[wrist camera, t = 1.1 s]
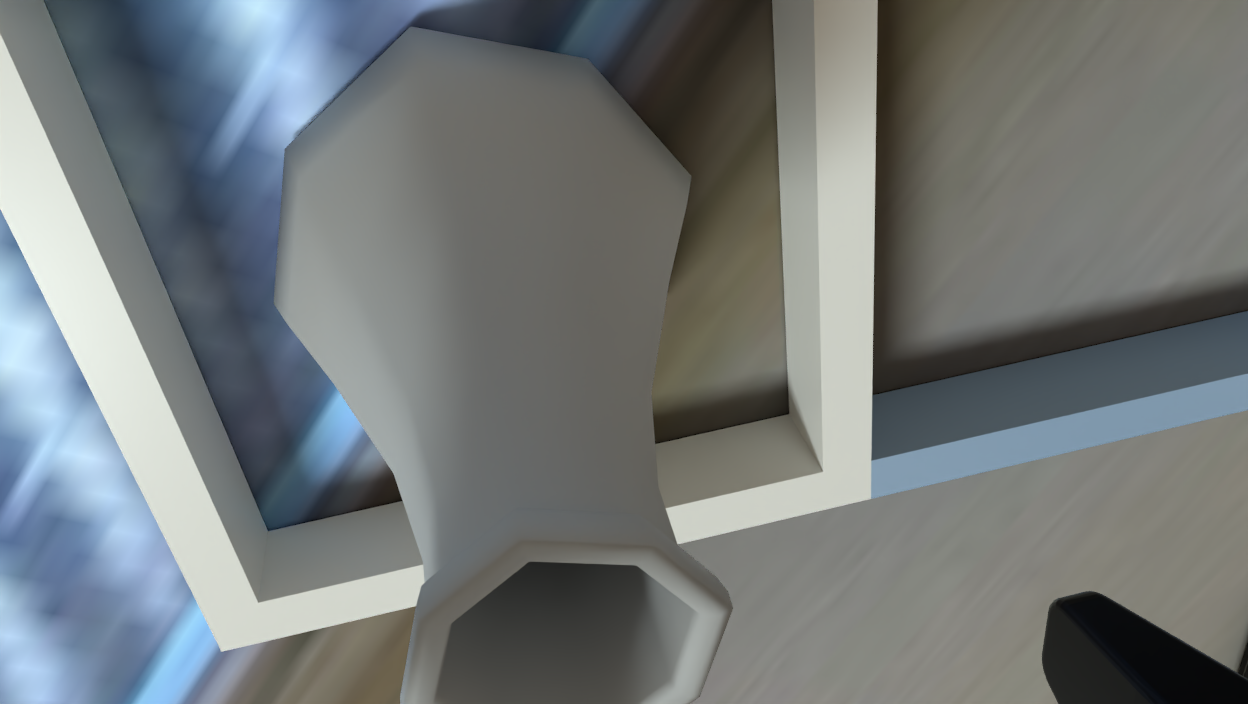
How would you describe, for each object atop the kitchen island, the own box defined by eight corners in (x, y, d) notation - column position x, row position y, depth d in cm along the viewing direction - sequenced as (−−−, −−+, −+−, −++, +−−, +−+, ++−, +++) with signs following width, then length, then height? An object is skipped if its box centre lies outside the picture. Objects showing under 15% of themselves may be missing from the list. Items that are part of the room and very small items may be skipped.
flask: (380, -62, 16) (383, 199, 7) (755, 150, 19) (1061, 504, 10) (204, 316, 18) (56, 830, 10) (557, 448, 21) (672, 924, 13)
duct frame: (1533, -350, 17) (1660, -356, 15) (1329, 327, 24) (1401, 373, 22) (-78, -96, 14) (-140, -69, 12) (233, 577, 21) (221, 651, 19)
